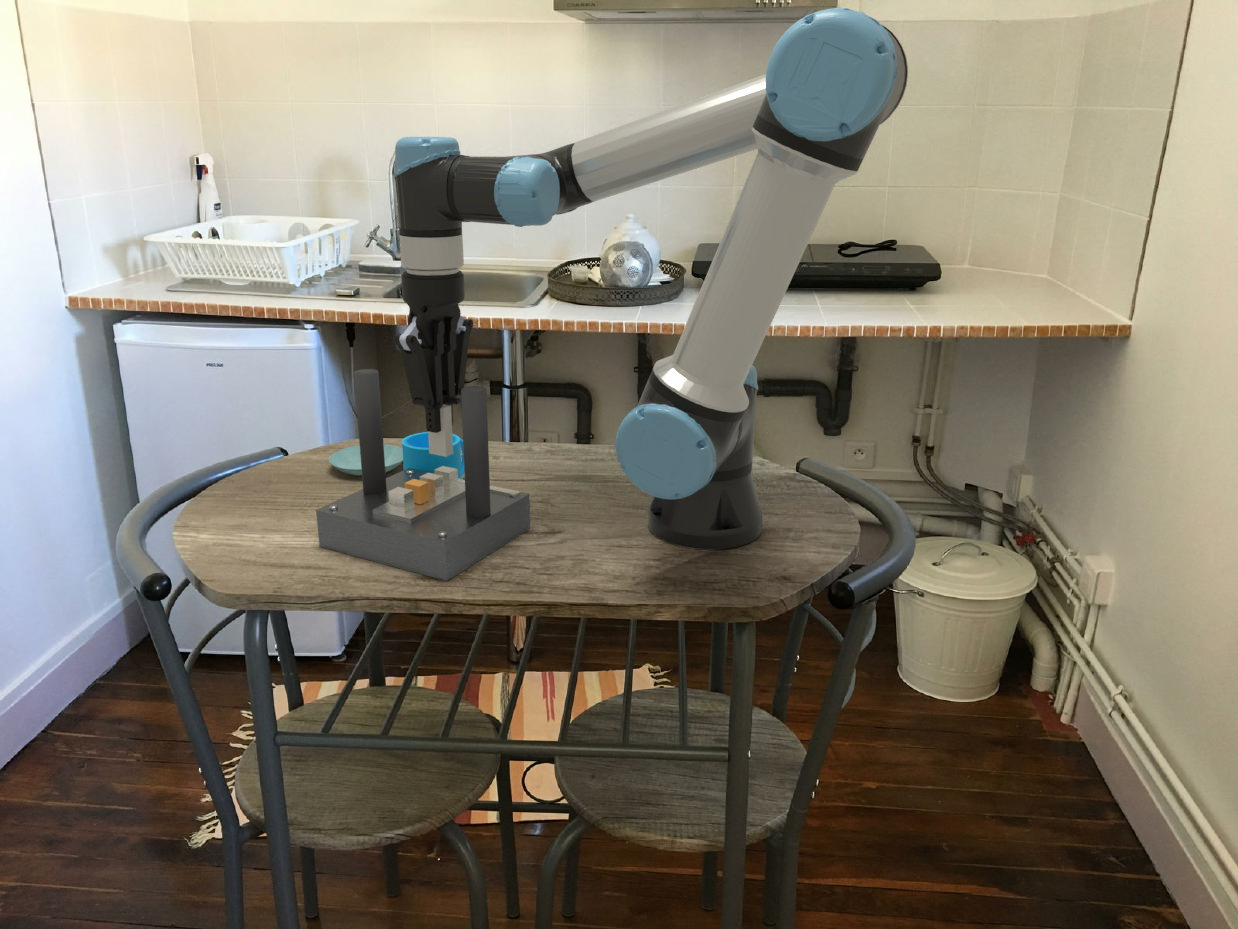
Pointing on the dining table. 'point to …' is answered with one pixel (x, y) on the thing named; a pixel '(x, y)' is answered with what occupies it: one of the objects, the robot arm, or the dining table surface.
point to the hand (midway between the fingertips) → (441, 453)
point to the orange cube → (418, 490)
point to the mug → (422, 460)
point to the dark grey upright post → (370, 431)
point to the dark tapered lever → (476, 451)
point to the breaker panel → (422, 524)
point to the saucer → (351, 459)
